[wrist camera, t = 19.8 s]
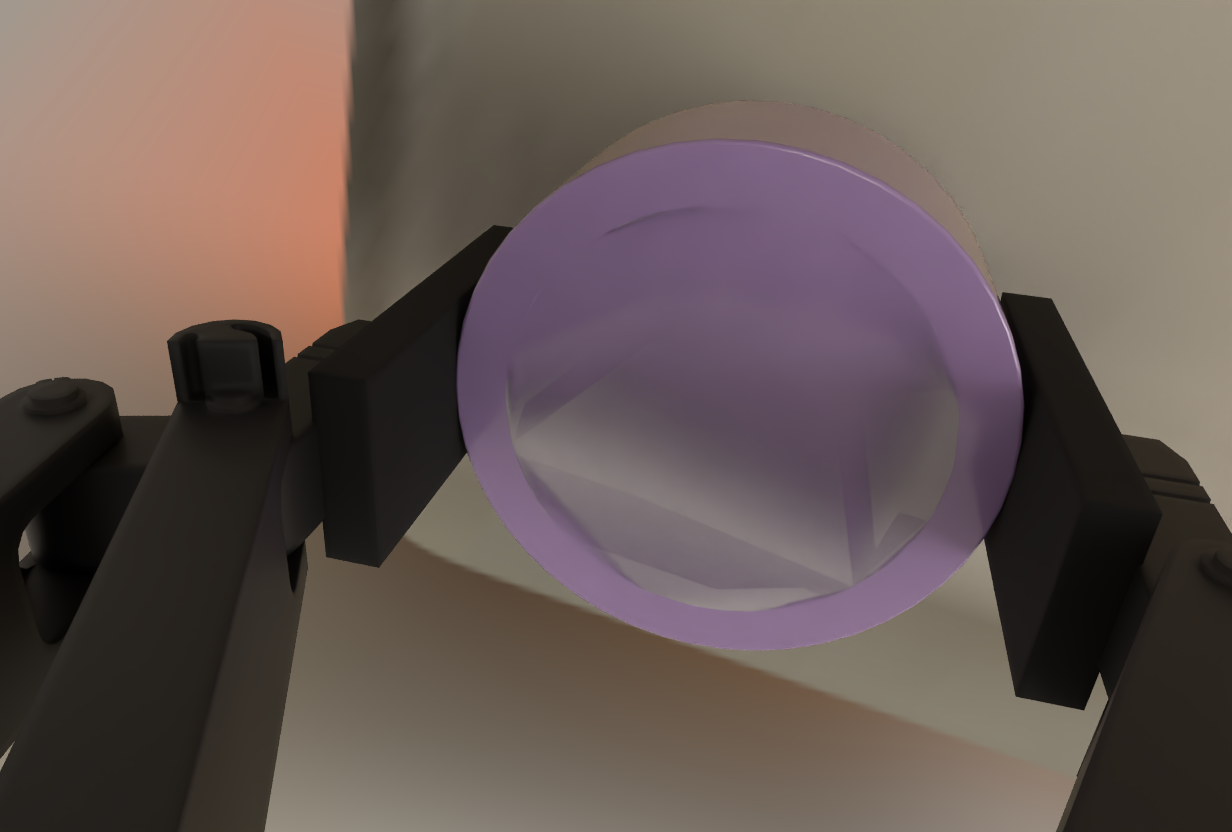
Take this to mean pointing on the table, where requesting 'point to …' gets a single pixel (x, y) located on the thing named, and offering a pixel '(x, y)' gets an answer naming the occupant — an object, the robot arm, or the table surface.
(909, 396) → the dish
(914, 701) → the table surface
